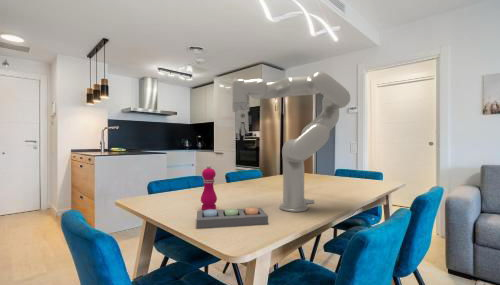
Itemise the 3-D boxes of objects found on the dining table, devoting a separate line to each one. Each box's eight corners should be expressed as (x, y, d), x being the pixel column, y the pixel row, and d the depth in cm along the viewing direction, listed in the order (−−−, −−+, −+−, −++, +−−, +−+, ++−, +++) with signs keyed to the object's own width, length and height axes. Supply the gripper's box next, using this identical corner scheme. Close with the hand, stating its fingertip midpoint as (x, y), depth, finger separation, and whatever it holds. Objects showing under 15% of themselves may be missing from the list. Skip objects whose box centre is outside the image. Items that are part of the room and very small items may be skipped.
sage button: (236, 215, 102) (236, 208, 102) (238, 219, 97) (238, 211, 97) (224, 216, 101) (224, 208, 101) (225, 220, 96) (225, 212, 96)
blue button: (216, 216, 100) (216, 208, 100) (217, 220, 95) (217, 212, 95) (203, 217, 99) (203, 209, 99) (203, 221, 94) (203, 213, 94)
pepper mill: (213, 211, 112) (213, 165, 112) (198, 210, 113) (198, 165, 113) (219, 207, 119) (219, 164, 119) (204, 206, 120) (204, 163, 120)
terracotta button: (256, 214, 103) (256, 207, 103) (259, 218, 98) (259, 210, 98) (244, 215, 102) (244, 207, 102) (246, 218, 97) (246, 211, 97)
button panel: (260, 214, 107) (260, 207, 107) (268, 224, 95) (268, 216, 95) (197, 218, 102) (197, 210, 102) (196, 228, 91) (196, 220, 91)
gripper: (252, 106, 107) (252, 150, 108) (246, 110, 122) (246, 148, 122) (234, 105, 106) (234, 150, 106) (230, 109, 121) (230, 148, 121)
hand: (240, 149), depth 114 cm, fingers closed
